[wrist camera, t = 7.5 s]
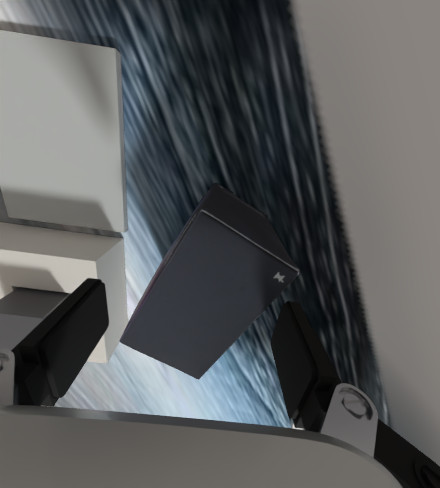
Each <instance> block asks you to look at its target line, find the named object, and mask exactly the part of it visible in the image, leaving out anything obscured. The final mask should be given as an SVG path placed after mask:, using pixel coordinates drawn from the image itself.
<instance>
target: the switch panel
mask: <svg viewBox="0 0 440 488" xmlns="http://www.w3.org/2000/svg"><path fill="white" fill-rule="evenodd" d="M87 278H94V279H101V280H102V282H103V283H105V288H106V297H107V306H108V315H109V326H108V328H107V330H106V332H105V333H104V335H103V336H102V338H101V339H100V341H99V342H98V344H97V346H96V347H95V349H94V350H93V352H92V353H91V355H90V356H89V358H88V360H87V361H90V362H99V363H108V361H109V359H110V358H111V356H112V354H113V352H114V351H115V349H116V347H117V345H118V344H119V342H120V338H121V336H122V334H123V332H124V330H125V328H126V326H127V324H128V316H127V297H126V278H125V258H124V239H123V238H116V237H108V236H101V235H93V234H86V233H78V232H71V231H63V230H56V229H48V228H41V227H33V226H26V225H18V224H10V223H3V222H0V299H1V298H3V297H4V296H6V295H8V294H9V293H11V292H12V291H14V290H15V289H17V288H18V287H25V288H33V289H41V290H49V291H57V292H65V293H72V292H73V291H74V290H75V289H76V288H78V287H79V286H80V285H81V284H82V283H83V282H84V281H85V280H86V279H87Z"/></svg>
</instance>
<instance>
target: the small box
mask: <svg viewBox="0 0 440 488" xmlns="http://www.w3.org/2000/svg"><path fill="white" fill-rule="evenodd" d="M298 275H299V269H298V267H297V266H296V264H295V263H294V262H293V261H292V260H291V258H290V256H289V255H288V253H287V251H286V249H285V248H284V246H283V244H282V243H281V241H280V239H279V238H278V236H277V234H276V232H275V230H274V229H273V227H272V226H271V224H270V222H269V220H268V218H267V215H265V214H264V213H263V212H261V211H258V210H257V209H256V208H254V207H253V206H251V205H249V204H248V203H246V202H245V201H243V200H242V199H241V198H239V197H237V196H236V195H234V194H233V192H231V191H230V190H228V189H226V188H224V187H222V186H221V185H219V184H218V183H214V184H213V186H212V187H211V188H210V189H209V191H208V192H207V193H206V194H205V196H204V197H203V198H202V200H201V201H200V203H199V204H198V206H197V207H196V209H195V210H194V212H193V213H192V215H191V216H190V218H189V219H188V221H187V222H186V224H185V226H184V227H183V229H182V230H181V232H180V233H179V235H178V236H177V238H176V239H175V241H174V242H173V244H172V246H171V247H170V249H169V250H168V252H167V254H166V255H165V257H164V259H163V260H162V262H161V264H160V266H159V267H158V269H157V271H156V273H155V274H154V276H153V278H152V279H151V281H150V283H149V285H148V287H147V288H146V290H145V292H144V294H143V296H142V298H141V299H140V301H139V303H138V305H137V307H136V309H135V311H134V313H133V315H132V317H131V318H130V320H129V322H128V324H127V326H126V328H125V330H124V332H123V334H122V336H121V338H120V342H121V343H122V344H124V345H126V346H129V347H130V348H132V349H134V350H137V351H139V352H141V353H143V354H146V355H147V356H150V357H152V358H154V359H156V360H158V361H161V362H163V363H165V364H167V365H169V366H171V367H174V368H176V369H178V370H180V371H182V372H184V373H186V374H188V375H190V376H192V377H194V378H196V379H200V378H201V377H202V376H203V374H204V373H205V372H206V371H207V370H208V369H209V368H210V367H211V366H212V365H213V364H214V363H215V362H216V361H217V360H218V359H219V358H220V357H221V356H222V355H223V354H224V353H225V351H226V350H227V349H228V348H229V347H230V346H231V345H232V344H233V343H234V342H235V341H236V340H237V339H238V338H239V337H240V336H241V335H242V333H243V332H244V331H245V330H246V329H247V328H248V327H249V326H250V325H251V324H252V323H253V322H254V321H255V320H256V319H257V318H258V317H259V316H260V315H261V314H262V312H263V311H264V310H265V309H266V308H267V307H268V306H269V305H270V304H271V303H272V302H273V301H274V300H275V299H276V298H277V297H278V296H279V295H280V293H281V292H282V291H283V290H284V289H285V288H286V287H287V286H288V285H289V284H290V283H291V282H292V281H293V280H294V279H295V278H296V277H297V276H298Z"/></svg>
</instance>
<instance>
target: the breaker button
mask: <svg viewBox="0 0 440 488" xmlns="http://www.w3.org/2000/svg"><path fill="white" fill-rule="evenodd" d="M70 294H71V293H65V292H57V291H49V290H41V289H33V288H25V287H18V288H17V289H15V290H14V291H12V292H11V293H9V294H8V295H6V296H4V297H3V298H1V299H0V349H6V350H10V351H11V350H12V349H13V348H14V347H15V346H16V345H17V344H18V343H20V342H21V341H22V340H23V339H24V338H25V337H26V336H27V335H28V334H29V333H30V332H31V331H32V330H33V329H34V328H35V327H36V326H37V325H39V324H40V323H41V322H42V321H43V320H44V319H45V318H46V317H47V316H48V315H49V314H50V313H51V312H52V311H53V310H54V309H55V308H56V307H57V306H59V305H60V304H61V303H62V302H63V301H64V300H65V299H66V298H67V297H68V296H69V295H70Z"/></svg>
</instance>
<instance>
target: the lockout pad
mask: <svg viewBox="0 0 440 488" xmlns="http://www.w3.org/2000/svg"><path fill="white" fill-rule="evenodd" d="M0 188H1V191H2V195H3V199H4V202H5V206H6V210H7V213H8V217H10V218H18V219H25V220H33V221H40V222H48V223H55V224H63V225H70V226H77V227H85V228H92V229H100V230H107V231H115V232H122V233H125V232H126V231H127V230H128V219H127V195H126V171H125V147H124V124H123V100H122V76H121V54H120V53H119V52H118V51H117V50H116V49H115V48H109V47H103V46H97V45H90V44H84V43H78V42H72V41H66V40H60V39H53V38H47V37H41V36H35V35H29V34H23V33H16V32H10V31H4V30H0Z"/></svg>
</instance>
